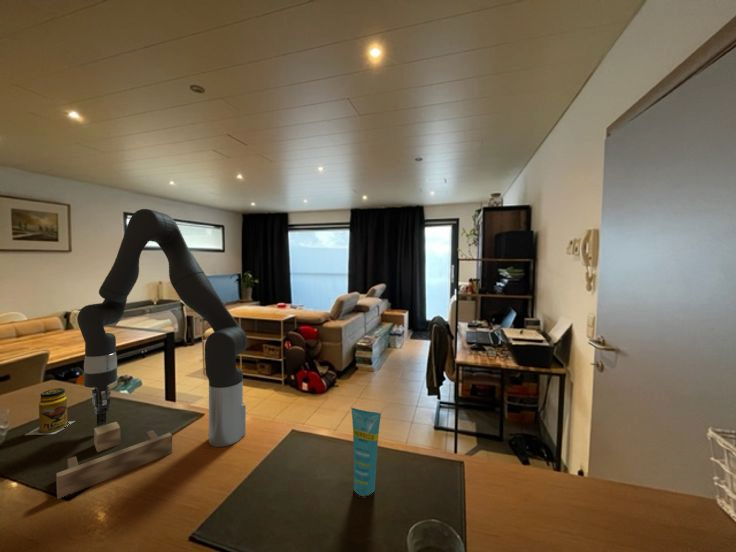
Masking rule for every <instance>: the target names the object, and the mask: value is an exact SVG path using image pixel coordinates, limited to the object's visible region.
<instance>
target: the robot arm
mask: <svg viewBox="0 0 736 552" xmlns="http://www.w3.org/2000/svg"><path fill="white" fill-rule="evenodd" d="M129 218H130V219H129V221H128V223H127V226H126V229H125V231H124V234H123V237H122V240H121V243H120V246H119V247H118V248H119V249H118V252H117V255H116V258H115V260H114V263H113V265H112V266H111V268H110V270H109V272H108V274H107V275H106V276H105V279H104V281H103V282H102V284H101V286H100V288H99V290H98V295H99V296H100V297H101V298H102V299H103V301H102V302H100V303H93V304H88V305H85V306H83V307H82V308H81V309H80V310H79V312H78V313H77V317H76V318H77V324H78V328H79V330H80V333H81V336H82V339H83V340H84V361H83V362H84V363H83V386H84V387H85V388H90V389H91V396H92V404H93V408H94V412H95V424H96V426H100V425H101V426H103V425H106V423H107V412H109V408H110V404H111V398H110V396H111V388H110V386H109V385H111V384H114V383H115V382H117V380H118V358H117V338H116V335H115V334H114V333H111V332H106V330H105V326H108V325H114V324H116V323H117V322H118V321H120V319H121V318H122V317H123V315H124V313H125V310H126V309H125V308H126V305H127V302H128V296H129V295H130V294H131V292H132V290H133V289H134V286H135V285H136V283H137V280H138V278H139V276H140V275H139V274H140V258H141V254H142V252H143V250H144V248H145V247H146V246H147V245H148V243H150V242H154V243H156V244H157V245H158V246H159V248H160V249H161V251H162V252H163V253H164V255H165V257H166V259H167V261H168V277H169V281H170V284H171V286H172V287H173V289H174V291H175V292H176V294H177V296H178V298H180V300H181V301H182V303H183V304H185V305H186V306H187V307H188V308H190V309H191V310H192V311H193V312H195V313H196V314H198V315H199V316H201V318H203V319H204V320H205V321H206V323H208V325H209V326H210V327H211V329H212V330H213V332H212V333H210V334H209V335H208V336H207V338H206V339H205V342H204V367H205V368H204V369H205V374H206V377H207V379H208V443H209V445H211V447H217V448H220V447H221V448H222V447H226V446H227V447H228V446H231V445H233V444H235V443H237V442H239V441H241V439H242V438H243V437H244V436H246V435H247V434H246V431H247V430H246V428H247V427H246V421H247V420H246V419H247V418H246V415H247V414H246V410H247V409H246V404H245V403H244V401H243V398H244V397H243V396H244V395H243V392H244V390H243V389H244V387H243V386H244V383H243V382H244V379H243V378H244V374H243V373H244V372H243V370H242V369H241V368H238V367H237V364H236V363H237V361H236V358H237V357H238V356H239V355H241V354H242V353H244V352H245V351H246V349H247V347H248V337H247V334H246V332H245V331H244V329H243V328H242V326H241V325H240V324H239V323H238V321H236V319H235V318H234V316H233V315H232V314H231V312H229V310H228V309H227V307H226V305H225V304H224V302H223V301H222V299H221V297H220V296H219V294H218V293H217V292H216V290H215V288H214V287H213V284H212V283H211V281H210V279H209V278H208V277H207V274H206V273H205V271H203V269H202V267H201V266H200V264H199V263H198V261H197V259H196V258H195V256H194V255H193V254H194V253H192V252H191V250H190V248H189V247H188V245H187V242H186V241H185V240H186V239H185V238H184V236H183V234H182V232H181V230H180V227H179V226H178V223H177V222H176V221H175V219H174V218H173V217H171V216H170V215H168V214H166V213H163V212H159V211H157V210H152V209H148V208H142V209H141V208H140V209H138V210H136V211H135V212H134V213H133V214H132V215H131V217H129ZM92 388H93V389H92Z"/></svg>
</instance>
